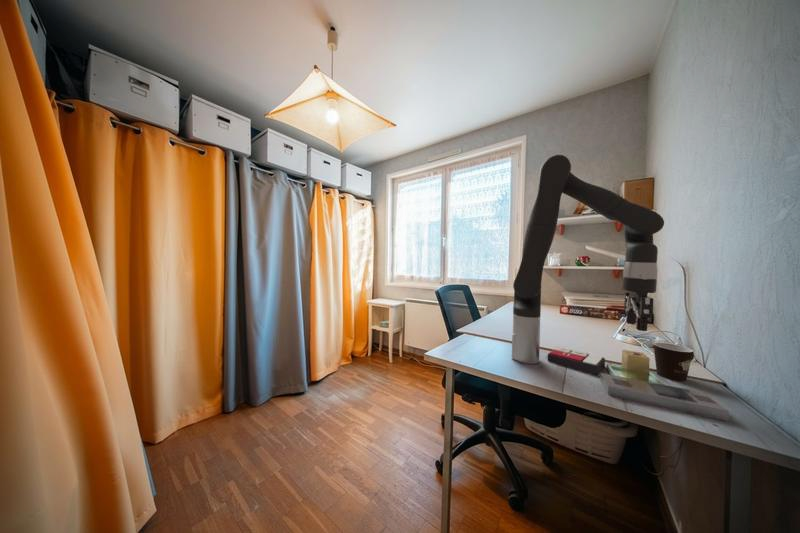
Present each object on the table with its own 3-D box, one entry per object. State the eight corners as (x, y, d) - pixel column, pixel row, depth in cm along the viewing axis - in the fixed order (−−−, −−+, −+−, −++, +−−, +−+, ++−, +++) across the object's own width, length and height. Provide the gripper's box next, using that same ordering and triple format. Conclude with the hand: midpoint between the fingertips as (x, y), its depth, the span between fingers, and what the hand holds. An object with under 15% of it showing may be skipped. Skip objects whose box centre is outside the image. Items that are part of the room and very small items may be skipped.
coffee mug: (663, 380, 75) (664, 349, 74) (645, 368, 83) (646, 341, 82) (714, 387, 71) (715, 355, 70) (690, 374, 79) (691, 345, 78)
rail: (608, 394, 66) (608, 385, 66) (599, 380, 74) (600, 372, 74) (728, 421, 56) (728, 410, 56) (703, 401, 64) (704, 392, 64)
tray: (617, 382, 73) (617, 378, 73) (606, 368, 83) (606, 364, 83) (668, 393, 67) (668, 387, 67) (650, 376, 77) (650, 371, 77)
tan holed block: (626, 379, 74) (627, 354, 74) (621, 373, 78) (622, 349, 78) (648, 383, 72) (649, 357, 71) (641, 376, 76) (642, 352, 76)
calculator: (557, 345, 96) (604, 355, 84) (557, 356, 96) (605, 367, 84) (547, 352, 89) (597, 364, 77) (547, 363, 89) (598, 377, 77)
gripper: (616, 274, 82) (613, 320, 83) (632, 277, 70) (628, 330, 70) (645, 276, 78) (642, 323, 79) (668, 279, 66) (663, 335, 67)
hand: (635, 327), depth 75 cm, fingers open, 8 cm apart
